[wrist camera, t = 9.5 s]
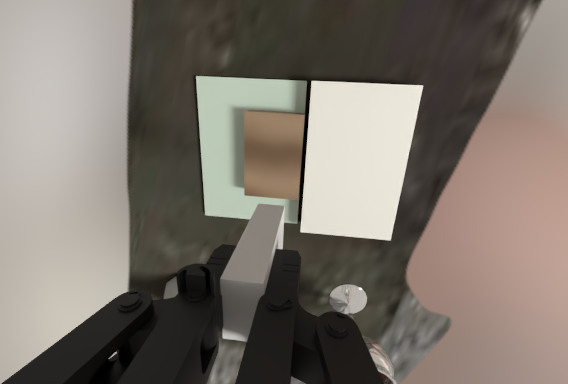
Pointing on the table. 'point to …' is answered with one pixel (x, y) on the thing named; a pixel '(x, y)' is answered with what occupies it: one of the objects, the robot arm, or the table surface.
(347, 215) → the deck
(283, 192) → the walnut tile
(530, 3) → the table surface
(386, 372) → the wineglass
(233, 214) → the mat
